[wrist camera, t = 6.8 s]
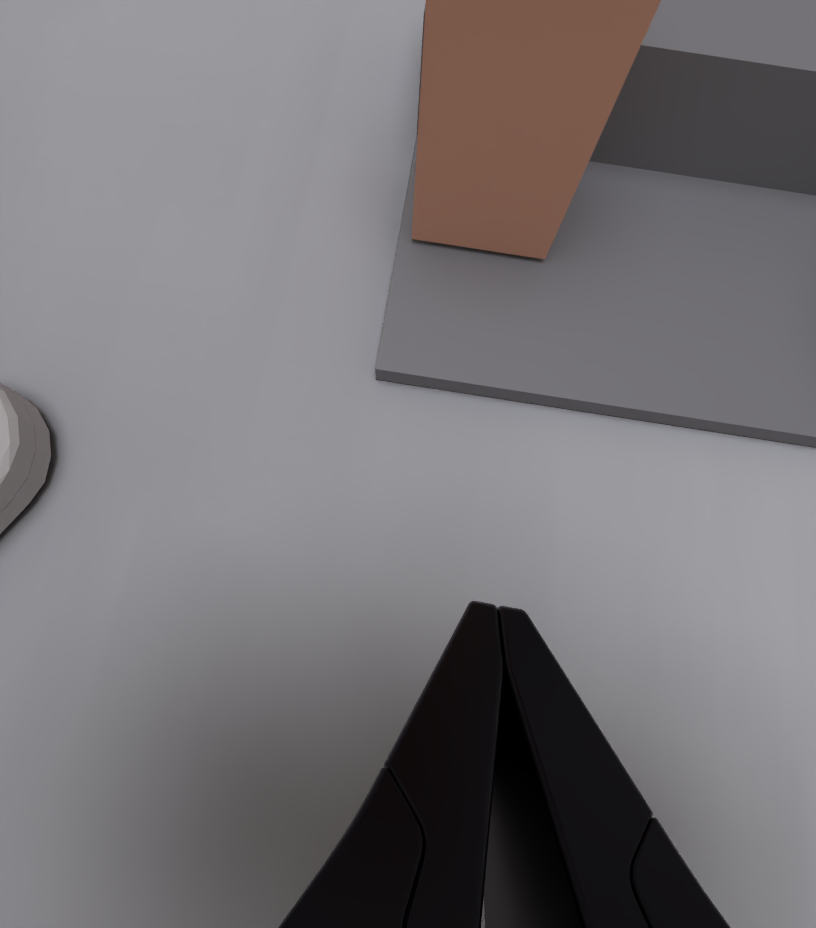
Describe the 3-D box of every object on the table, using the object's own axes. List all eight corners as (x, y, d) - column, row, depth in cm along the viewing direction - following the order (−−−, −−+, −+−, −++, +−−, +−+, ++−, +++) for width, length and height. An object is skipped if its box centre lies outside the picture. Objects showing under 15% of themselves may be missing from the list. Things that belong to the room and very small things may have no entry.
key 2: (545, 259, 22) (793, -296, 9) (411, 238, 22) (447, -347, 9) (555, 168, 23) (792, -462, 10) (426, 148, 23) (481, -508, 10)
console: (964, 470, 22) (1199, 414, 16) (375, 379, 22) (370, 286, 16) (939, 113, 26) (1120, -50, 19) (436, 37, 26) (451, -150, 20)
